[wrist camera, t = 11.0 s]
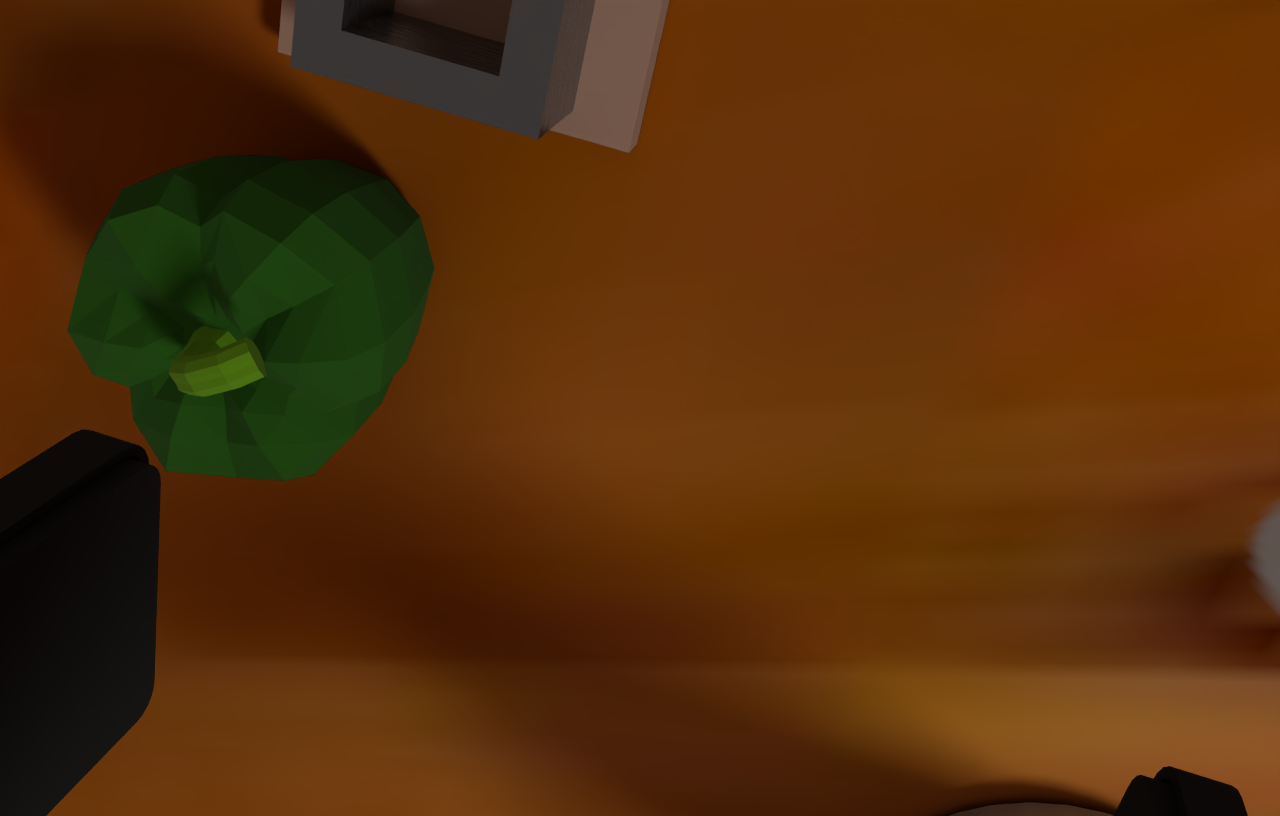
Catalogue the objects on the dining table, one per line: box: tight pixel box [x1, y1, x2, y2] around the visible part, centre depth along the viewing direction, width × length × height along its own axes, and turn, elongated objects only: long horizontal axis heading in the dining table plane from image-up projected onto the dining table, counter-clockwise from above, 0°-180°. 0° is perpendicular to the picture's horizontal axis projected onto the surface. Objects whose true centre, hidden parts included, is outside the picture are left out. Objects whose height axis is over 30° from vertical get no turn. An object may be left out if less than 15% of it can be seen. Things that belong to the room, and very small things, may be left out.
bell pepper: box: [67, 155, 434, 481], centre depth 32 cm, size 8×8×10 cm
